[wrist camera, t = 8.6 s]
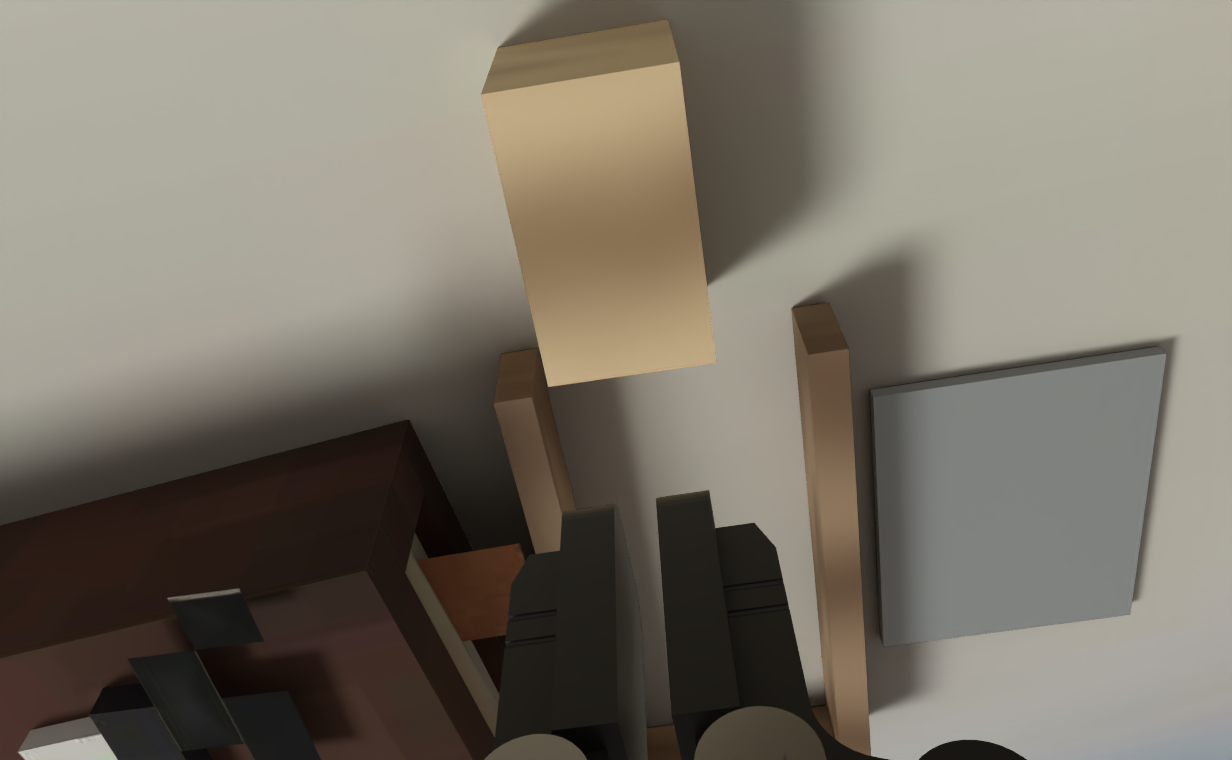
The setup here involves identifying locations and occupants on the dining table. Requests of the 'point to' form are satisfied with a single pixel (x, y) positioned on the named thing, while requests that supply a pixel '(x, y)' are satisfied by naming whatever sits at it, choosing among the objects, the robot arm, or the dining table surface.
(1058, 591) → the rubber pad
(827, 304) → the shelf bay
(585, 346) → the block
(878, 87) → the dining table surface
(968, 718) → the dining table surface
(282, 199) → the dining table surface
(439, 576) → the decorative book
